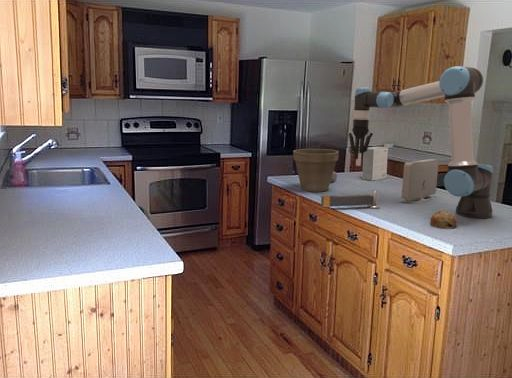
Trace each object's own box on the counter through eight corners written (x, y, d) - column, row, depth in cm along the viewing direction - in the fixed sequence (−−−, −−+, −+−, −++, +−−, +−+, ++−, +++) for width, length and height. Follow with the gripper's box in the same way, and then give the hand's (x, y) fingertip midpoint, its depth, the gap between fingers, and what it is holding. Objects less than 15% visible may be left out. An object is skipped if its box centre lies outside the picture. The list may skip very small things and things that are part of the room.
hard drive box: (376, 176, 305) (378, 146, 301) (386, 178, 299) (388, 147, 295) (361, 179, 295) (363, 147, 291) (371, 181, 289) (373, 149, 285)
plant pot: (282, 188, 263) (283, 150, 258) (312, 183, 279) (313, 147, 275) (316, 196, 244) (318, 154, 240) (345, 190, 261) (347, 151, 256)
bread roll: (436, 236, 189) (443, 221, 185) (422, 220, 197) (429, 205, 192) (456, 235, 192) (464, 220, 187) (442, 219, 200) (449, 204, 195)
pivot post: (382, 208, 220) (383, 191, 218) (370, 208, 219) (371, 192, 217) (376, 205, 225) (378, 189, 224) (365, 205, 224) (366, 189, 223)
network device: (411, 204, 228) (415, 164, 224) (396, 201, 235) (399, 162, 231) (439, 198, 244) (443, 160, 240) (424, 195, 251) (427, 158, 247)
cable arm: (368, 203, 223) (369, 193, 222) (371, 204, 220) (372, 195, 219) (321, 205, 217) (321, 195, 216) (323, 206, 214) (323, 197, 213)
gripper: (370, 118, 239) (367, 164, 244) (346, 118, 237) (343, 164, 242) (376, 119, 232) (373, 166, 237) (351, 119, 230) (348, 166, 235)
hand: (358, 165), depth 239 cm, fingers closed
